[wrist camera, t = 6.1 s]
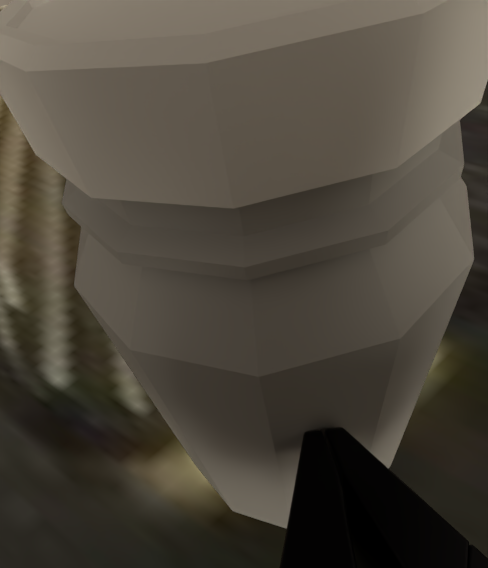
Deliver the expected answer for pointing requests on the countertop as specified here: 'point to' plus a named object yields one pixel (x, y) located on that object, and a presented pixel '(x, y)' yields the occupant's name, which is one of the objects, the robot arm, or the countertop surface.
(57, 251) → the countertop surface
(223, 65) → the jar
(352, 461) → the robot arm
